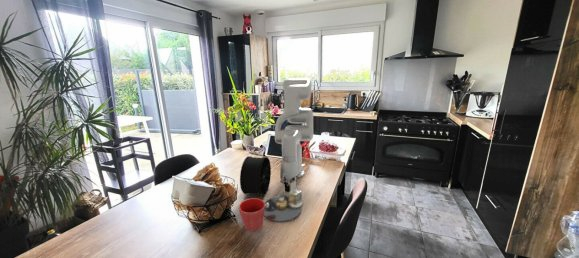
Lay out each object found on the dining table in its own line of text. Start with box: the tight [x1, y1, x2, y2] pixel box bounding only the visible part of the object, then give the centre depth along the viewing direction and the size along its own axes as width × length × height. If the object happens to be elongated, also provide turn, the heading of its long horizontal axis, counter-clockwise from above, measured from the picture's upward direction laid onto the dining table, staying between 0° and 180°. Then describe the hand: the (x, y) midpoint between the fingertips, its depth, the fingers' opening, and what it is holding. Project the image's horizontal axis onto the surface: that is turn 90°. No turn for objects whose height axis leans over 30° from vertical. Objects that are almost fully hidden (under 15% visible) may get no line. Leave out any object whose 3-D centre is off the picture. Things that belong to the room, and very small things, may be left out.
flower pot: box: [238, 197, 265, 231], centre depth 96 cm, size 11×11×10 cm
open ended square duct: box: [283, 179, 297, 197], centre depth 121 cm, size 7×7×7 cm
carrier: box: [264, 188, 304, 223], centre depth 107 cm, size 19×19×8 cm
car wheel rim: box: [239, 155, 272, 197], centre depth 121 cm, size 20×10×20 cm, turn 168°
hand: (290, 189), depth 121 cm, fingers closed on open ended square duct, 4 cm apart
